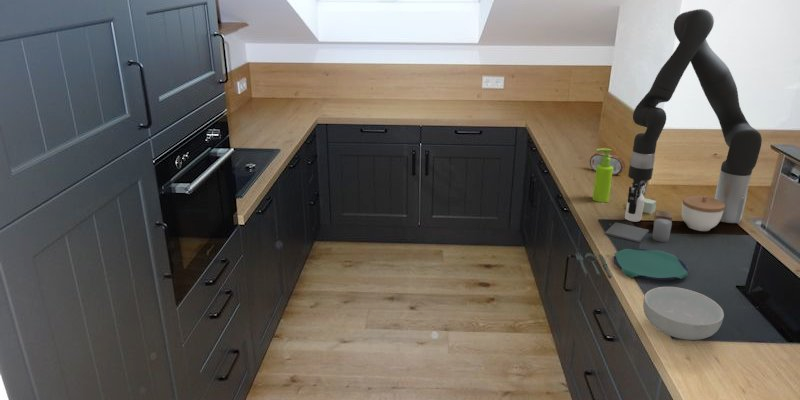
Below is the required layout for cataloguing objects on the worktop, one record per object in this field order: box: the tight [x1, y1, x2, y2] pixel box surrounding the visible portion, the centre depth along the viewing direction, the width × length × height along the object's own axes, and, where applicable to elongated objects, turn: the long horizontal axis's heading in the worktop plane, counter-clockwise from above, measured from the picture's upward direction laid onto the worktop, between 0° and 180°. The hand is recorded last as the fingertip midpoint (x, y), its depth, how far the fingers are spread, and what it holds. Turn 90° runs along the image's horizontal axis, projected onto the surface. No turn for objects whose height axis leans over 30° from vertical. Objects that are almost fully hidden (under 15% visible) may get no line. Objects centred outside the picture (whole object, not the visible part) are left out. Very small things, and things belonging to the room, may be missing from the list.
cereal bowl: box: [642, 286, 725, 341], centre depth 134 cm, size 17×17×7 cm
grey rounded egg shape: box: [651, 219, 673, 243], centre depth 184 cm, size 5×5×6 cm
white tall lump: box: [624, 192, 645, 223], centre depth 198 cm, size 6×12×6 cm
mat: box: [604, 221, 650, 243], centre depth 189 cm, size 11×11×1 cm
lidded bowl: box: [681, 195, 725, 232], centre depth 192 cm, size 13×13×11 cm
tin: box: [589, 151, 626, 176], centre depth 248 cm, size 15×3×8 cm, turn 47°
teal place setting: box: [575, 248, 689, 281], centre depth 166 cm, size 20×30×2 cm, turn 82°
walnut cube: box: [653, 209, 673, 224], centre depth 193 cm, size 5×5×5 cm
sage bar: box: [643, 197, 657, 215], centre depth 208 cm, size 8×4×4 cm, turn 47°
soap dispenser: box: [592, 147, 613, 203], centre depth 215 cm, size 6×7×20 cm
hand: (634, 210), depth 199 cm, fingers closed on white tall lump, 6 cm apart
